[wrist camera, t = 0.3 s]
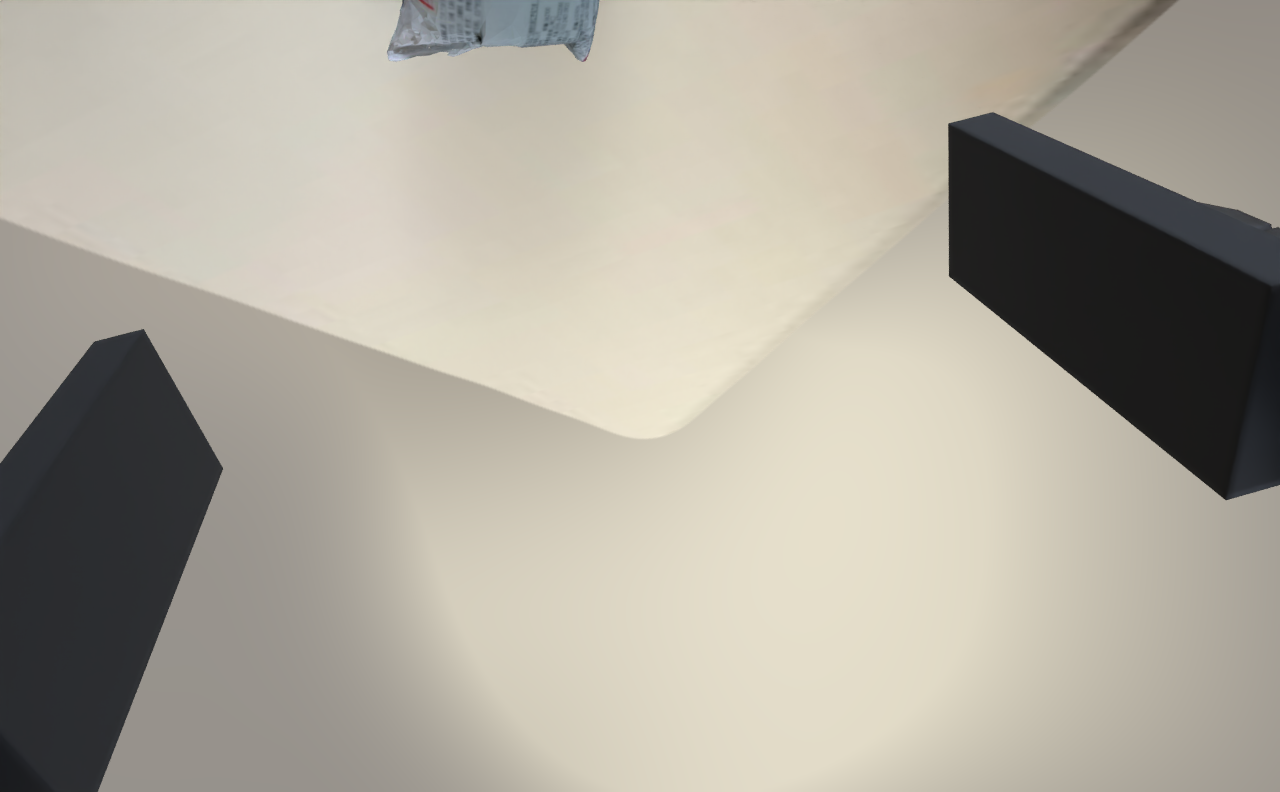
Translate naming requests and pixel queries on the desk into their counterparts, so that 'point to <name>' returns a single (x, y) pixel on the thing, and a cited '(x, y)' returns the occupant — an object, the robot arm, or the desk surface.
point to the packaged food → (492, 26)
